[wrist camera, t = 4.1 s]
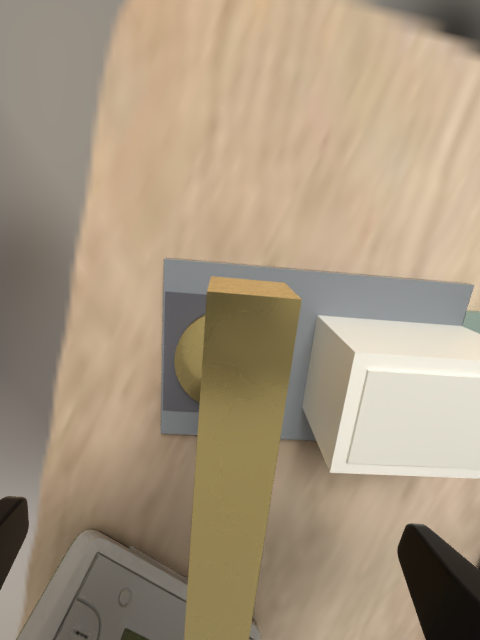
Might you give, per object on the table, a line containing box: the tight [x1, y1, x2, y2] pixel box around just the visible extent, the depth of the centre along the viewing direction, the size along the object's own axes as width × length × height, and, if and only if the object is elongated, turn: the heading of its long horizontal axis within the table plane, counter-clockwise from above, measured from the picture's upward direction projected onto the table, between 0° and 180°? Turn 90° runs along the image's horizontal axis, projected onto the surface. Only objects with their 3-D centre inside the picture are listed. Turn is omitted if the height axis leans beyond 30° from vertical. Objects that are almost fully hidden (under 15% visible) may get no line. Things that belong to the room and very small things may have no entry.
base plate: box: [161, 258, 474, 441], centre depth 17 cm, size 16×10×1 cm, turn 85°
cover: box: [302, 315, 480, 479], centre depth 15 cm, size 8×6×5 cm
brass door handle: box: [174, 276, 302, 640], centre depth 12 cm, size 11×6×9 cm, turn 175°
